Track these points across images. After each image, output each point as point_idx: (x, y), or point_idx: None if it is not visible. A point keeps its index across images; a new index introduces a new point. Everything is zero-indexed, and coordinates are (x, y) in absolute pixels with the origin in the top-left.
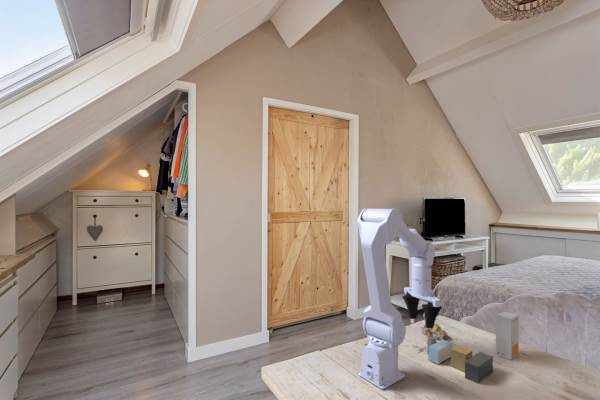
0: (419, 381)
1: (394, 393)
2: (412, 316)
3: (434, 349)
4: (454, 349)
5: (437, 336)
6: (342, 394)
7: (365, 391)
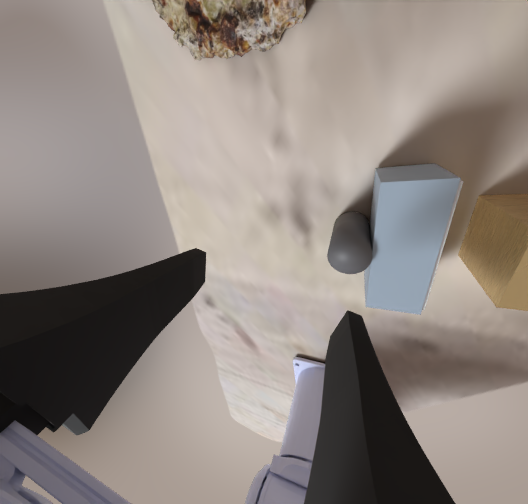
0: (401, 371)
1: None
2: (196, 284)
3: (397, 309)
4: (522, 302)
5: (270, 29)
6: None
7: None
